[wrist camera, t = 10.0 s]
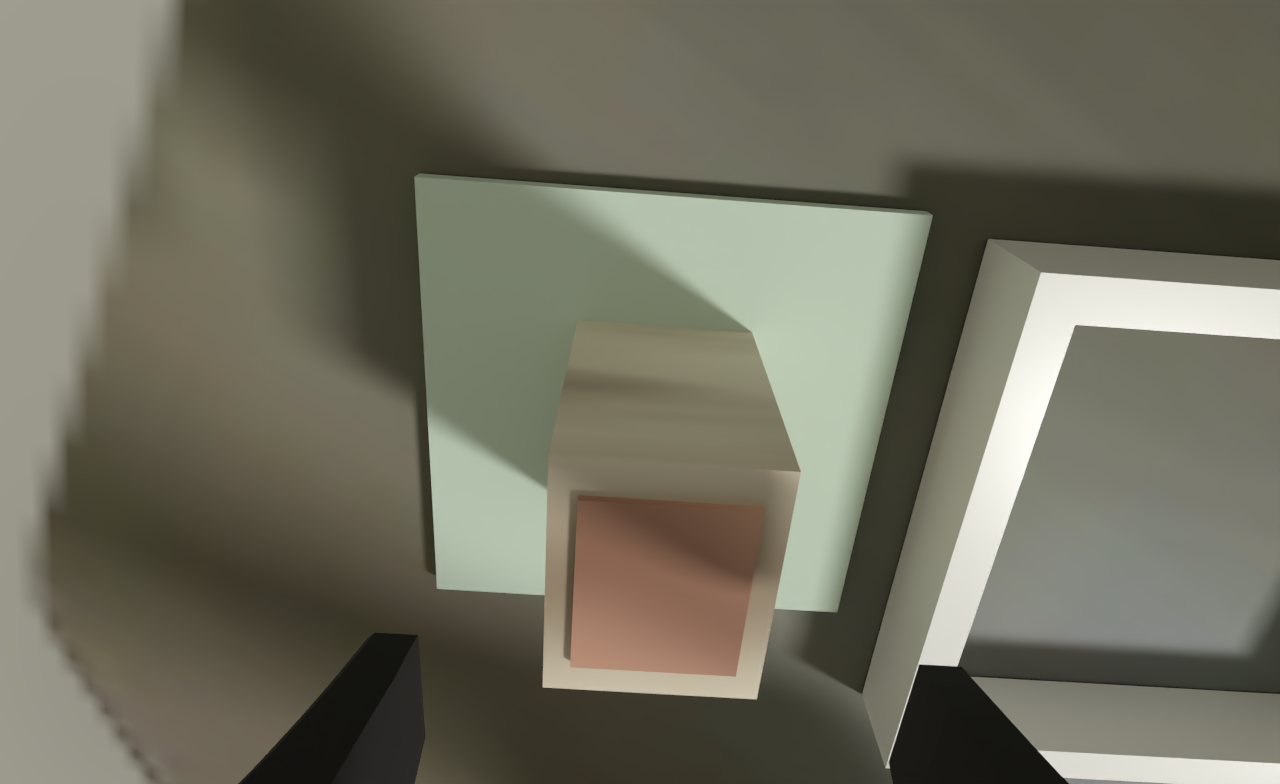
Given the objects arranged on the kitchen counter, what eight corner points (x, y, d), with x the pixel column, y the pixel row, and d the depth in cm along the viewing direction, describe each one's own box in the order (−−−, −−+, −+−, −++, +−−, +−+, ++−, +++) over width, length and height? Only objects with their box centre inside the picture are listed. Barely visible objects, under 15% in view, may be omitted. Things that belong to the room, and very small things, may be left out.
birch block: (725, 512, 20) (757, 706, 14) (570, 503, 20) (541, 694, 14) (752, 332, 17) (803, 477, 12) (577, 320, 17) (547, 460, 12)
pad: (834, 602, 21) (837, 612, 21) (440, 579, 21) (437, 588, 21) (927, 211, 17) (932, 215, 16) (419, 173, 16) (414, 176, 16)
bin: (1312, 720, 23) (1383, 794, 21) (861, 695, 23) (885, 768, 21) (1595, 283, 17) (1736, 323, 15) (988, 238, 17) (1040, 272, 15)
